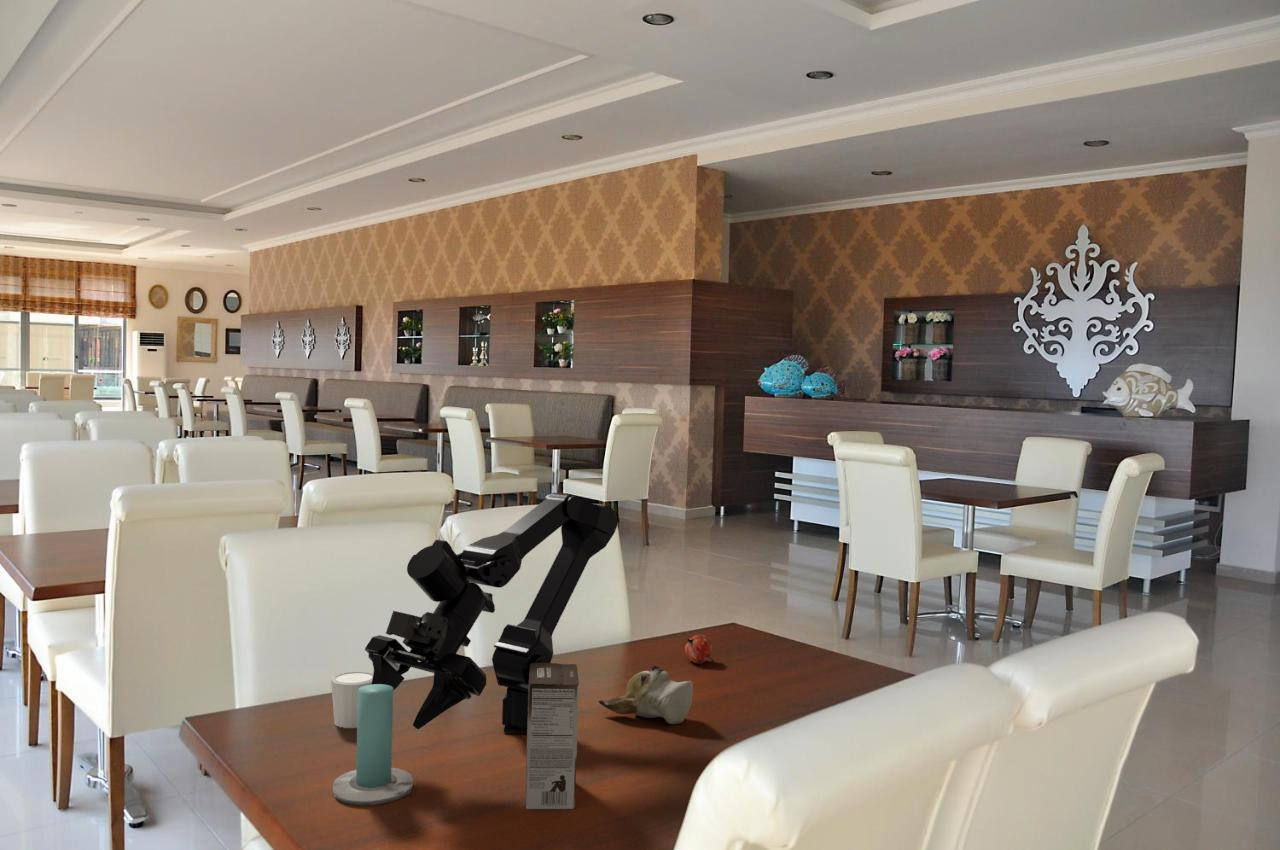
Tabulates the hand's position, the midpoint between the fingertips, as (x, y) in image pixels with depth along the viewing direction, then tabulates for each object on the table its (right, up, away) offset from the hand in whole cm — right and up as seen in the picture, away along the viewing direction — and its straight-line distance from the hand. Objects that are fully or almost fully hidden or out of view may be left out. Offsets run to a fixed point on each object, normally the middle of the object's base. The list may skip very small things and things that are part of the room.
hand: (391, 719), depth 130 cm
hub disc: (-2, -8, -2) cm, 9 cm away
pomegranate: (+44, -8, +63) cm, 77 cm away
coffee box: (+21, -9, -2) cm, 23 cm away
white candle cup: (-12, -7, +23) cm, 27 cm away
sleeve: (-2, -7, -2) cm, 8 cm away
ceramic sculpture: (+35, -9, +30) cm, 47 cm away
